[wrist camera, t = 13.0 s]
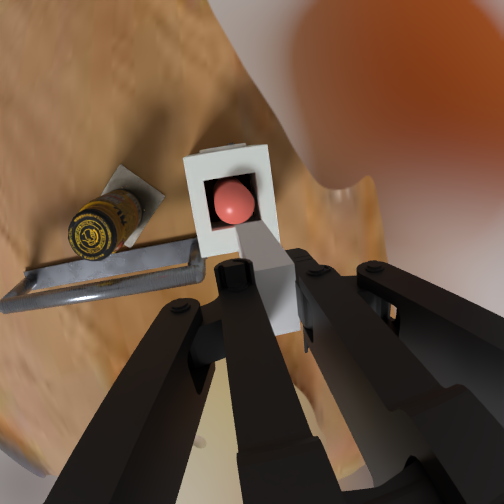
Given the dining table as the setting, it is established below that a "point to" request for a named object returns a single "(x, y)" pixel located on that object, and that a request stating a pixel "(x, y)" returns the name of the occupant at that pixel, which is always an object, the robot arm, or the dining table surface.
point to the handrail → (107, 267)
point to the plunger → (232, 200)
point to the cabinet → (223, 165)
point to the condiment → (113, 216)
